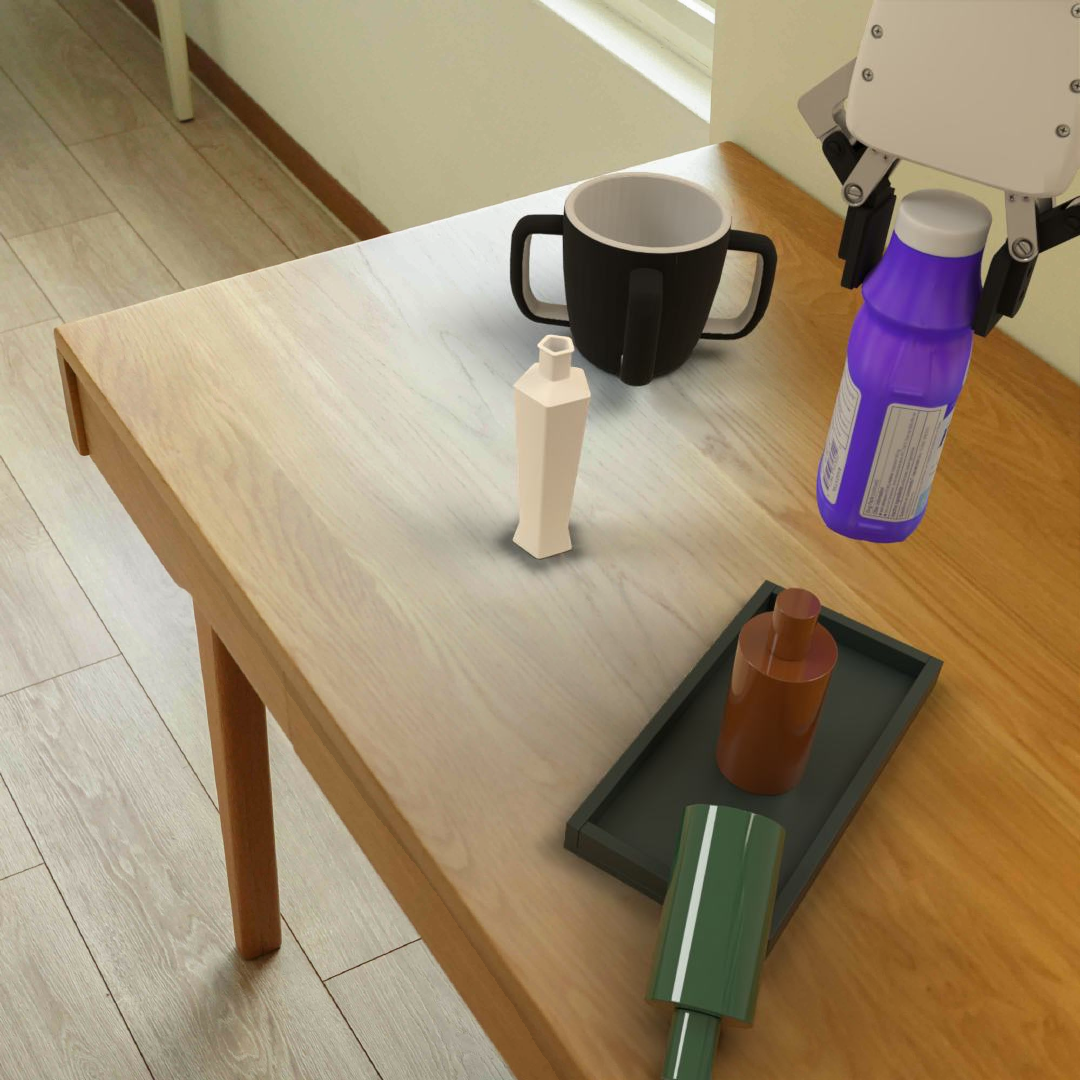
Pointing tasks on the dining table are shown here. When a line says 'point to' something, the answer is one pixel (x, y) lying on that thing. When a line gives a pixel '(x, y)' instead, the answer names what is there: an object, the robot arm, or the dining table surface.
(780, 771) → the middle bottle
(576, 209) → the mug
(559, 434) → the perfume bottle
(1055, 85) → the robot arm
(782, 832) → the green bottle
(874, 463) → the bottle
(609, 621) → the dining table surface
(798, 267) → the dining table surface
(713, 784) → the tray
